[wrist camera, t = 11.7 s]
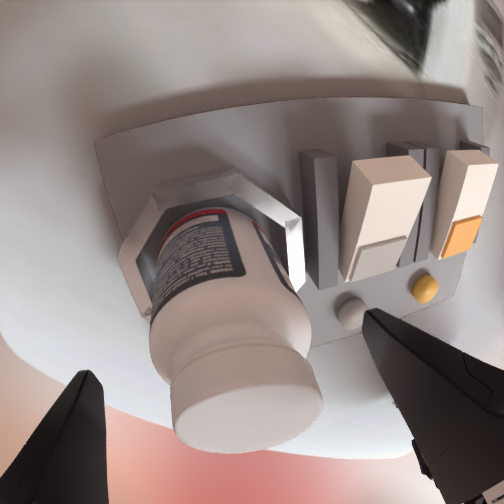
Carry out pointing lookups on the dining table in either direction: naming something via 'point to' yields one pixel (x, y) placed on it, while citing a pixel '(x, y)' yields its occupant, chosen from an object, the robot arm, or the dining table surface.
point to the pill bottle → (230, 336)
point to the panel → (305, 187)
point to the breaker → (379, 214)
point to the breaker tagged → (461, 201)
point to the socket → (199, 190)
